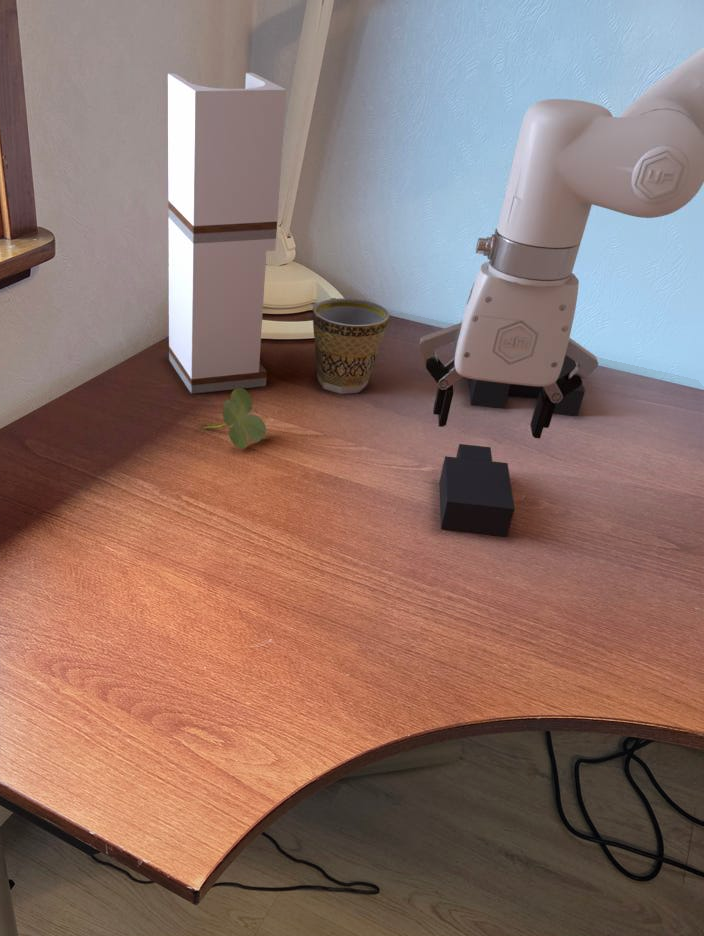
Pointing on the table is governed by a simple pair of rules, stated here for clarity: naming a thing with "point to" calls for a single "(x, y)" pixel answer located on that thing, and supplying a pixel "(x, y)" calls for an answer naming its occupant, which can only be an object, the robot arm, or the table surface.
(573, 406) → the notch pad
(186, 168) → the tall square vase
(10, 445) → the table surface
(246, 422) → the green clover leaf
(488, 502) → the pad
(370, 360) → the ceramic cup
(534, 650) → the table surface
